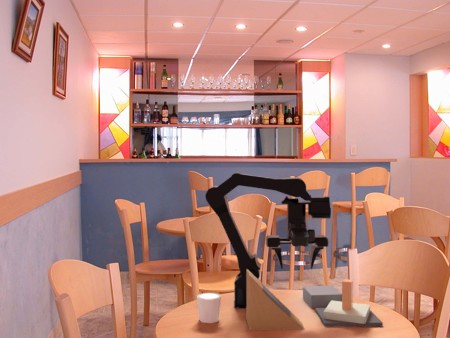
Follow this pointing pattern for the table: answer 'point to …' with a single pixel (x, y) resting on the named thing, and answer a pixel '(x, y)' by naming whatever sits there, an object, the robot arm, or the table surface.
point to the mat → (371, 321)
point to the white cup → (208, 307)
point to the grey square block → (320, 295)
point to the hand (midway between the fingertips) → (296, 268)
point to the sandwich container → (267, 308)
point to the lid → (347, 307)
